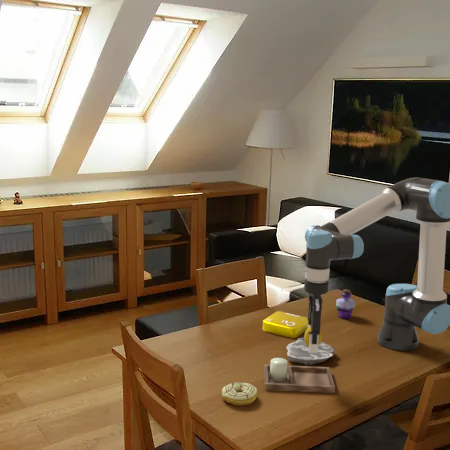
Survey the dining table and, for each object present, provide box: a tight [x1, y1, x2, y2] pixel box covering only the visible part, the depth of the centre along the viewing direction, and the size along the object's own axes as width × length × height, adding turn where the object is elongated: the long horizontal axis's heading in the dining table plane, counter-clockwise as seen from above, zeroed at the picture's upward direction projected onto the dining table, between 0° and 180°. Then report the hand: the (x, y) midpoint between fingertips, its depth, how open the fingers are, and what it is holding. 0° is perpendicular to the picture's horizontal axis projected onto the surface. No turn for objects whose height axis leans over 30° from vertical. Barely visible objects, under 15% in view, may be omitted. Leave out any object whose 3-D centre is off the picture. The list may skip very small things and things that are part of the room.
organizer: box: [263, 364, 336, 394], centre depth 190 cm, size 22×14×2 cm, turn 88°
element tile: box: [262, 310, 308, 339], centre depth 234 cm, size 15×15×5 cm
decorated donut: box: [221, 381, 258, 407], centre depth 178 cm, size 10×11×4 cm
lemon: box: [303, 327, 323, 347], centre depth 186 cm, size 6×6×8 cm
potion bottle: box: [335, 288, 356, 320], centre depth 247 cm, size 9×9×12 cm
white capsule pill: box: [269, 357, 289, 383], centre depth 189 cm, size 6×6×6 cm
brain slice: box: [285, 337, 336, 366], centre depth 209 cm, size 20×17×3 cm
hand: (312, 348), depth 187 cm, fingers closed on lemon, 5 cm apart
